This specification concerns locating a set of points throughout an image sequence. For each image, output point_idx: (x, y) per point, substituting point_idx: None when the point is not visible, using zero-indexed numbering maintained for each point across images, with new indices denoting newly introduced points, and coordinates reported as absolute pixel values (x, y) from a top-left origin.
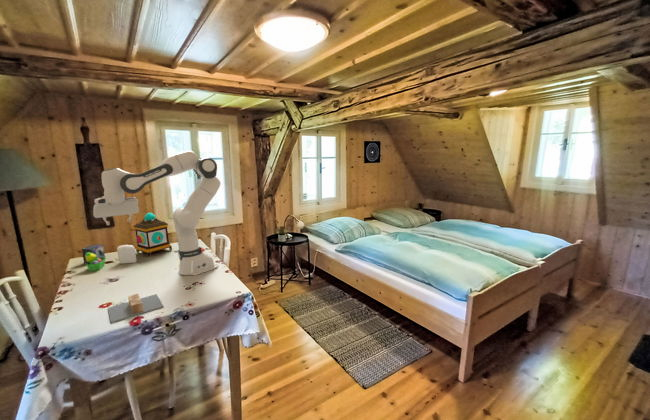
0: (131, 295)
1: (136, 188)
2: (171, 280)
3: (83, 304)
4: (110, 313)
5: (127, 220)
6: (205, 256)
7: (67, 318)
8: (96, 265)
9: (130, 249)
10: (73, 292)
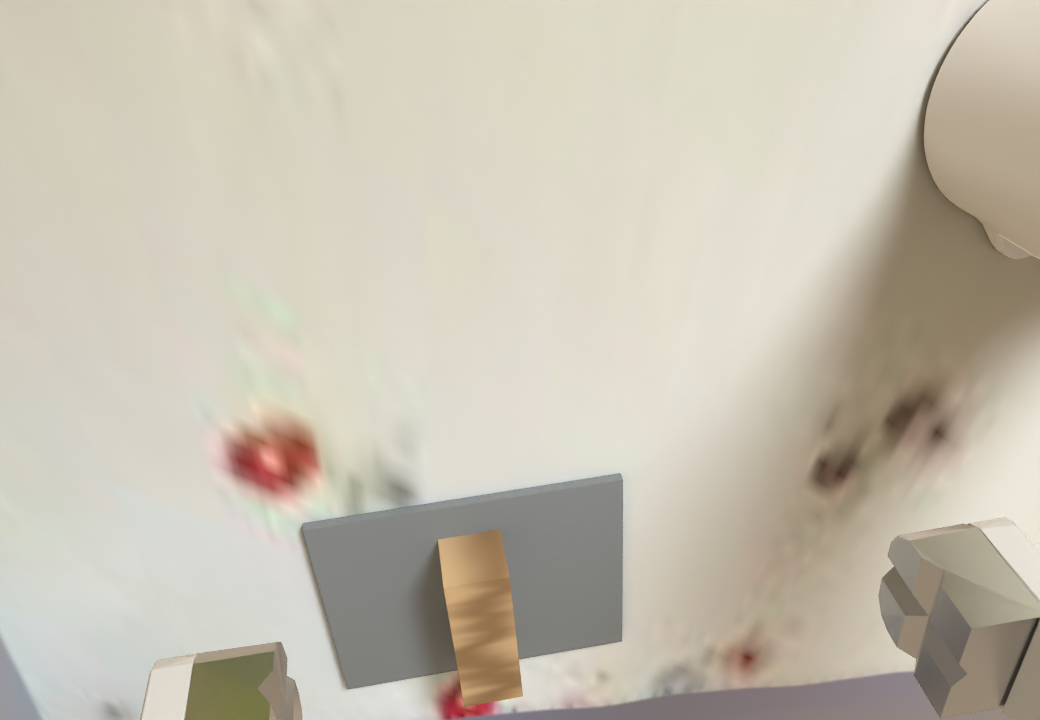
0: (466, 586)
1: None
2: (799, 247)
3: (78, 364)
4: (330, 605)
5: (916, 674)
6: None
7: (46, 534)
8: None
9: None
10: None
